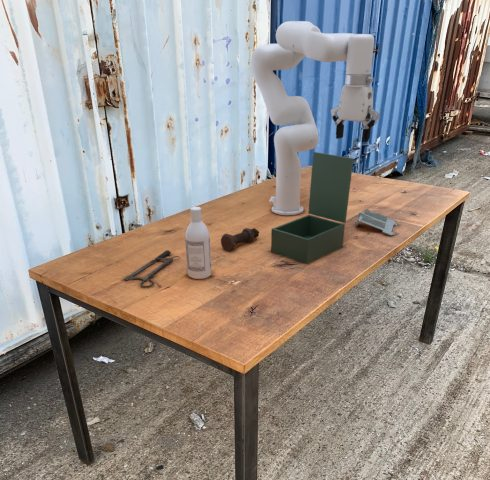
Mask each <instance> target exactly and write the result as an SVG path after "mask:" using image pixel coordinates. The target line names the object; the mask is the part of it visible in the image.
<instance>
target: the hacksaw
mask: <svg viewBox="0 0 490 480" xmlns="http://www.w3.org/2000/svg"><path fill="white" fill-rule="evenodd" d="M171 254H172V251H170V250H168V249H166V250H164V251H163V252H162V253H160V254H159V255H157V256H156V257H154V259H152V260H150V261H149V262H147V263H146V264H144V265H143V266H140V268H138V269H137V270H135V271H134V272H132V273H131V274H129V275H127V276H125V278H124V280H125V281H129V280H141V282H140V287H142V288H150V287H152V286H154V284H155V282H154V281H153V280H151V279H152V278H153V277H154V276H155V274H156V273H158V271H160V270H161V269H163V268H165V266H168V265H169V264H170V263H171V262H173V260H174V258H177V259H176V261H178V260H180V259H181V257H180V256H178V255H174V256H171V257H168V256H170V255H171ZM165 257H166V258H165ZM158 261H160V262H161V261H163V263H162V264H160V265H159V266H158V267H156V268H155V269H153V270H152V271H151V272H150V273H149V274H148V275H146V276H145V277H141V276H140V277H139V276H138V277H137V276H136V275H137V274H139V273H141V272H142V271H143V270H145V269H146V268H148V267H149V266H151V265H152V264H154V263H155V262H158ZM147 281H149V282H150V283H151V284H149V285H143V284H144V283H145V282H147Z"/></svg>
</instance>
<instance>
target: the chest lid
mask: <svg viewBox="0 0 490 480" xmlns="http://www.w3.org/2000/svg"><path fill="white" fill-rule="evenodd" d="M353 165H354V158H353V157H346V156H341V155H336V154H330V153H323V152H317V151H313V154H312V165H311V176H310V177H311V178H310V188H309V198H308V199H309V200H308V211H307V215H312V216H315V217H319V218H323V219H327V220H330V221H334V222H338V223H342V224H346V222H347V214H348V207H349V198H350V190H351V181H352V174H353V167H354V166H353Z"/></svg>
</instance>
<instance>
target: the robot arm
mask: <svg viewBox="0 0 490 480" xmlns="http://www.w3.org/2000/svg"><path fill="white" fill-rule="evenodd" d="M275 32H276V33H275V40H276V43H264V44H262V45H259V46H257V47H256V48H254V50H253V52H252V54H251V60H250V68H251V73H252V76H253V79H254V81H255V83H256V85H257V87H258V89H259V91H260V93H261V96H262V99H263V102H264V104H265V105H264V106H265V108H266V110H267V115H268V117H269V119H270V121H271V122H272V124H273V125H275V126H283V127H280V128H278V129H277V131H275V134H274V136H273V143H274V144H273V145H274V150H275V170H276V171H275V196H274V195H272V196H270V199H269V200H268V201H269V203H272V204H273V205H272V207H271V211H272V213H274V214H276V215H280V216H297V215H300V214H302V213H304V209H305V208H304V207H303V205H301V186H302V162H301V160H300V157H299V156H298V153H300V152H307V151H311V150H313V149H315V148H316V147H317V146H318V143H319V139H320V138H319V137H320V136H319V131H318V127H317V124H316V122H315V121H316V120H315V119H314V115H313V112H312V110H311V106H310V105H309V102H308V101H307V100H306V98H304V97H303V96H300V95H292V96H291V95H288V93H287V92H286V89H285V85H284V83H283V82H282V80H281V79H280V77H279V76H278V75H277V74H275V72H274V71H284V70H292V69H294V68H295V67H296V66H298V65H299V64H300V62H301V61H302V60H303V59H304V58H305V57H306V58H308V59H310V60H314V61H317V62H323V63H324V62H325V63H334V62H346V65H345V76H344V78H345V79H344V85H342V88H341V92H340V96H339V104H338V105H337V106H334V107H333V108H332V109H330V114H331V117H332V118H331V119H332V120H333V121H334V125H335V126H336V127H335V139H337V140H339V139H342V138H344V132H345V130H344V129H345V124H344V123H345V122H346V121H348V122H358V123H362V126H363V127H364V128H362V135H361V142H362V143H367V142H369V141H370V138H371V131H372V130H371V129H372V128H373V127H374V126H375V125H376V124H377V122H378V121H379V118H380V117H381V114H380V113H379V112H378V111H376V110H375V109H374V92H373V91H374V90H373V86H372V85H371V83H374V81H375V77H372V69H373V68H372V67H373V66H372V65H373V58H374V48H375V37H374V35H373V34H370V33H352V32H340V33H339V32H338V33H336V32H333V33H327V32H321V29H320V28H319V27H318V26H317V25H315V24H313V23H312V22H311V21H307V20H288V21H284V22H282V23H281V24H280V25H279V26H278V27H277V29H276V31H275Z"/></svg>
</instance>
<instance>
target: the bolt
mask: <svg viewBox="0 0 490 480" xmlns="http://www.w3.org/2000/svg"><path fill="white" fill-rule="evenodd" d="M259 236H260V231H259V230H258V228H257V229H256V228H255V227H253V228H248V227H247V228H246V227H245V228H243V229H242V231H241V232H239V233H236V234H234V235H233V234H229V233H224V234H223V235H222V236H221V238H220V245H221V247H222V248H223V250H224V251H226V252H232V251H234V249H235V247H236V246H237V245H239V244H242V243H246V244H247V243H248V244H250V243H252V242H253V241H254V239H256V238H258V237H259Z"/></svg>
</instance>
